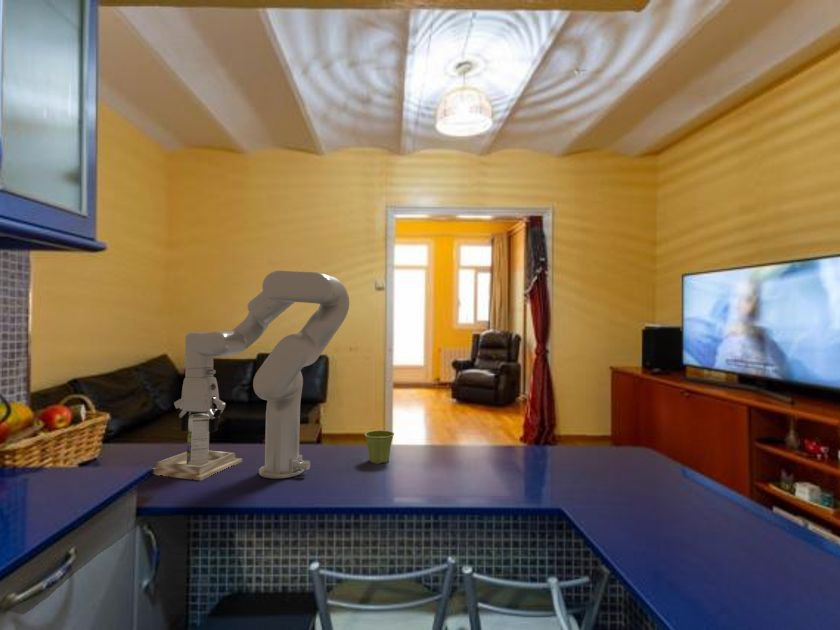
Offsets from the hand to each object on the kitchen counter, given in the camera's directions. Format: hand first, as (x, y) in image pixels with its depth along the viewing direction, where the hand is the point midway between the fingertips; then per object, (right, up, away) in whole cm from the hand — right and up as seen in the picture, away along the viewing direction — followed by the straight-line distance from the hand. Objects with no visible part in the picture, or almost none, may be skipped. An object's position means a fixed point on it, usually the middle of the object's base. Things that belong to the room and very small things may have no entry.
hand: (199, 431), depth 138 cm
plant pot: (+52, -12, +9) cm, 55 cm away
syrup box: (0, -10, 0) cm, 10 cm away
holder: (-1, -11, 0) cm, 11 cm away
